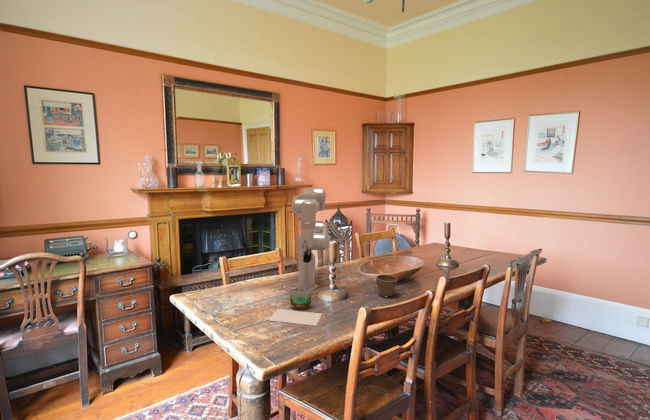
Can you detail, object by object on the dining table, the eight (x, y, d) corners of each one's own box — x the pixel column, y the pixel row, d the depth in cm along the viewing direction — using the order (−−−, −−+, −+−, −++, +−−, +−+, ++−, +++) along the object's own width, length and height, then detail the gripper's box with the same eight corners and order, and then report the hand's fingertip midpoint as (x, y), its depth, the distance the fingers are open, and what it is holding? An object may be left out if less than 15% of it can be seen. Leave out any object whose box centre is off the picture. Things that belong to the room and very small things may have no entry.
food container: (290, 312, 171) (290, 292, 170) (288, 307, 177) (288, 287, 175) (315, 310, 174) (315, 290, 173) (312, 305, 180) (312, 286, 179)
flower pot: (401, 297, 194) (402, 279, 192) (384, 300, 189) (384, 282, 187) (388, 290, 204) (389, 273, 203) (371, 293, 199) (372, 275, 197)
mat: (277, 309, 173) (277, 308, 173) (322, 314, 169) (322, 313, 169) (268, 320, 161) (268, 320, 161) (316, 326, 157) (316, 325, 157)
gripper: (304, 222, 189) (304, 256, 191) (296, 227, 173) (295, 265, 175) (318, 223, 187) (317, 257, 190) (311, 228, 172) (310, 266, 174)
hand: (307, 261), depth 182 cm, fingers open, 3 cm apart
